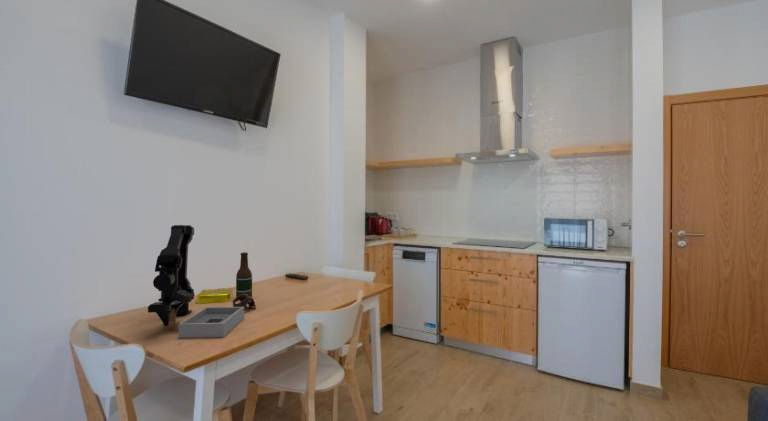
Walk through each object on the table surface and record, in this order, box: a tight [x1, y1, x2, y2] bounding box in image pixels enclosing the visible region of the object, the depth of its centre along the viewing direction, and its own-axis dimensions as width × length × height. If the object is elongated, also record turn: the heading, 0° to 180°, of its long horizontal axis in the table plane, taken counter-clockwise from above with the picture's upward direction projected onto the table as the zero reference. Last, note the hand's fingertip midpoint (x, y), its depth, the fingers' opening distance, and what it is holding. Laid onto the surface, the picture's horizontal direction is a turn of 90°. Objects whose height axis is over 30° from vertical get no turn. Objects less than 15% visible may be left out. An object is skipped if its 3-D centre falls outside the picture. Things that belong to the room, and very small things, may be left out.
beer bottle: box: [235, 251, 253, 300], centre depth 184 cm, size 8×8×24 cm
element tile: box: [196, 287, 234, 305], centre depth 184 cm, size 15×15×5 cm
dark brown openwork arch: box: [232, 294, 257, 310], centre depth 165 cm, size 12×10×8 cm
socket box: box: [177, 306, 245, 339], centre depth 140 cm, size 22×16×5 cm
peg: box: [163, 309, 176, 331], centre depth 139 cm, size 4×4×7 cm
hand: (169, 324), depth 139 cm, fingers closed on peg, 4 cm apart
